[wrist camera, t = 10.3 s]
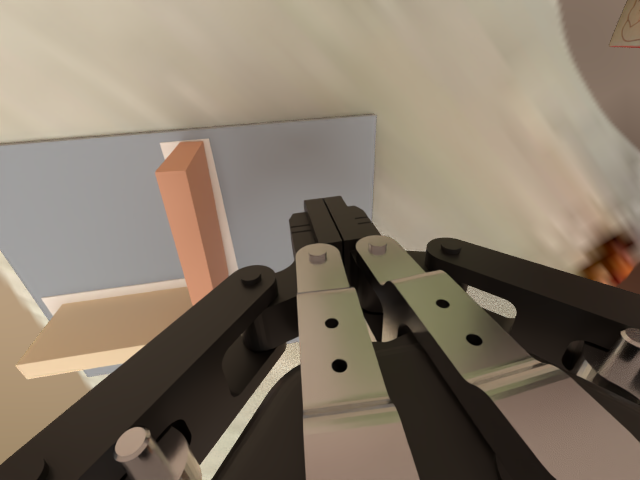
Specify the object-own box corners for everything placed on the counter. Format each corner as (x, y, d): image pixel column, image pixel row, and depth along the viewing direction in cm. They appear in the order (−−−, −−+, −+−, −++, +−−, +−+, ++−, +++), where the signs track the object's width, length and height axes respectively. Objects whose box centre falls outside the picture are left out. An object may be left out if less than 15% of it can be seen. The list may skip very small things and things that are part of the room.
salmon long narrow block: (228, 273, 22) (221, 326, 18) (210, 275, 22) (199, 329, 17) (203, 141, 17) (185, 170, 13) (180, 142, 17) (154, 172, 13)
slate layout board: (365, 326, 28) (391, 392, 23) (90, 371, 25) (44, 459, 20) (373, 113, 19) (421, 139, 13) (-60, 148, 16) (-224, 199, 11)
